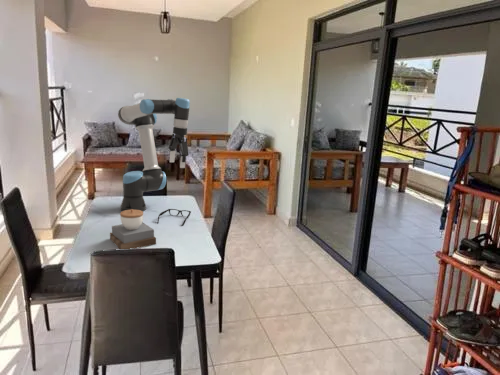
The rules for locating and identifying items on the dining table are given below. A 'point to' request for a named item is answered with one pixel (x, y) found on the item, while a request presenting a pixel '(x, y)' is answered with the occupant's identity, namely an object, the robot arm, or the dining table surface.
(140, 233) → the charcoal grey block
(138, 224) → the lidded jar
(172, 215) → the glasses
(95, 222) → the dining table surface
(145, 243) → the walnut block
